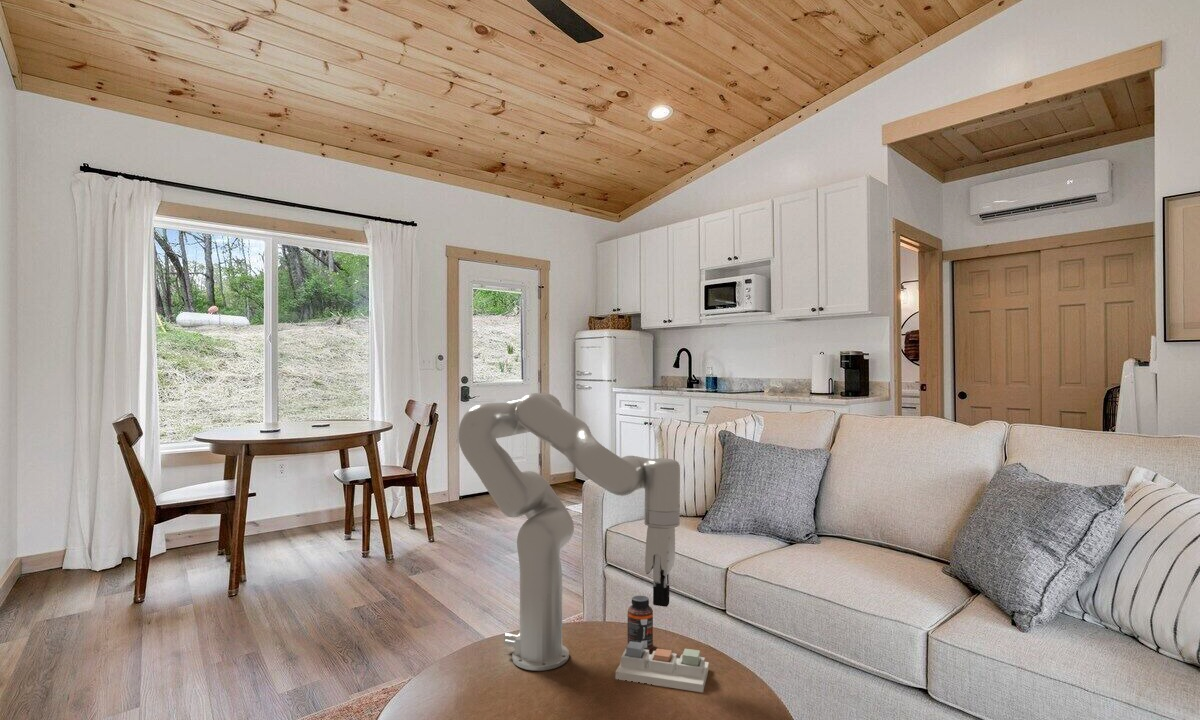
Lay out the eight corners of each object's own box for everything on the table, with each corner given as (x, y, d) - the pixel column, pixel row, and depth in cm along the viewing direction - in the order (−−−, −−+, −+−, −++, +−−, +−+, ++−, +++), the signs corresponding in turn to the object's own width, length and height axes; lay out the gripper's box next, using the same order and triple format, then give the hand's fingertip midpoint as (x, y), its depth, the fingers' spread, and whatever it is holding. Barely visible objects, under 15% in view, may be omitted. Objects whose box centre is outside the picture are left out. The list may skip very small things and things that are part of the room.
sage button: (682, 667, 119) (682, 655, 119) (684, 660, 122) (684, 648, 122) (698, 669, 118) (697, 657, 118) (700, 662, 121) (699, 650, 121)
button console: (615, 679, 119) (615, 661, 120) (627, 657, 129) (627, 641, 129) (702, 692, 114) (702, 674, 114) (708, 669, 124) (708, 652, 124)
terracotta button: (653, 666, 120) (653, 654, 121) (656, 659, 124) (656, 648, 124) (669, 668, 120) (668, 656, 120) (671, 661, 123) (671, 650, 123)
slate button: (626, 658, 122) (626, 647, 122) (629, 652, 125) (629, 641, 125) (640, 661, 121) (640, 649, 122) (644, 654, 124) (644, 643, 125)
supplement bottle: (651, 654, 131) (651, 603, 131) (625, 652, 132) (625, 601, 132) (654, 643, 136) (654, 594, 137) (629, 641, 138) (629, 592, 138)
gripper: (652, 509, 132) (651, 591, 131) (636, 523, 117) (635, 615, 116) (684, 511, 129) (684, 595, 128) (673, 526, 115) (672, 620, 114)
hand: (661, 604), depth 122 cm, fingers closed
